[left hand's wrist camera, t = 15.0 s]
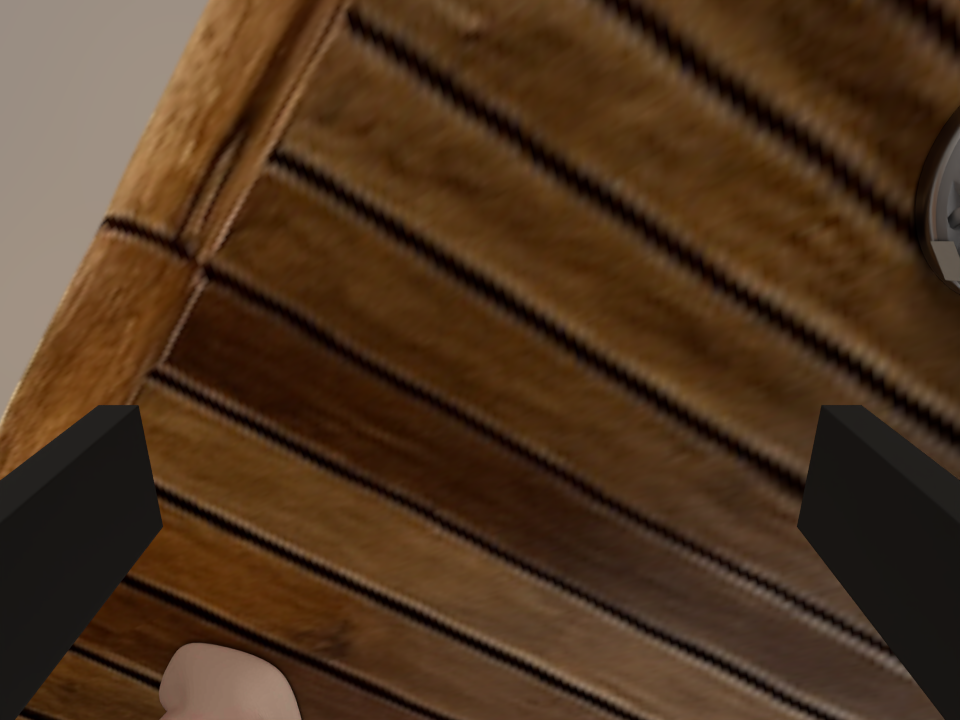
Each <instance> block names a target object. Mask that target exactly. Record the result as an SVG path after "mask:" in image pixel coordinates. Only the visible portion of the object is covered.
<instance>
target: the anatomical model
mask: <svg viewBox="0 0 960 720" xmlns="http://www.w3.org/2000/svg"><path fill="white" fill-rule="evenodd" d="M159 698H160V702H161V704H162V706H163V707H164V709H165V710H166V711H167V712H166V713H165V715H164V716H163V717H162V718H161V719H160V720H301V716H300V712H299V709H298V705H297V702H296V699H295V697H294V694H293V691H292V689H291V687H290V685H289V683H288V681H287V680H286V678H285V677H284V675H283V674H282V673H281V672H280V671H279V670H278V669H277V668H276V667H274V666H273V665H271V664H270V663H268V662H267V661H265V660H263V659H261V658H258V657H256V656H254V655H251V654H248V653H245V652H242V651H239V650H235V649H231V648H227V647H223V646H218V645H213V644H206V643H191V644H187V645H184V646H182V647H181V648H180V649H179V650H178V651H177V652H176V653H175V655H174V656H173V657H172V659H171V661H170V663H169V665H168V667H167V669H166V671H165V673H164V675H163V678H162V682H161V685H160V690H159Z"/></svg>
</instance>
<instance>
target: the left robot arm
mask: <svg viewBox="0 0 960 720" xmlns="http://www.w3.org/2000/svg"><path fill="white" fill-rule="evenodd" d="M915 221H916V230H917V235H918V240H919V243H920V247H921V250H922V252H923V254H924V257H925V259H926V261H927V262H928V264H929V266H930V267H931V269H932V270H933V272H934V273H935V274H936V275H937V277H938V278H939V279H940V280H941V281H942V282H943V283H944V284H945V285H947V286H948V287H949V288H951V289H952V290H953V291H955V292H956V293H958V294H960V106H959V107H958V109H957V110H956V111H955V112H954V113H953V114H952V116H951V117H950V119H949V120H948V121H947V123H946V124H945V125H944V127H943V128H942V130H941V132H940V133H939V135H938V137H937V138H936V140H935V142H934V144H933V146H932V148H931V150H930V152H929V154H928V157H927V159H926V161H925V164H924V167H923V170H922V173H921V176H920V180H919V184H918V189H917V195H916V204H915ZM162 527H163V524H162V519H161V514H160V509H159V504H158V500H157V495H156V490H155V485H154V480H153V475H152V470H151V465H150V460H149V455H148V450H147V445H146V440H145V435H144V430H143V425H142V420H141V415H140V411H139V406H138V405H98V406H97V407H96V408H94V409H93V410H92V411H90V412H89V413H88V414H87V415H85V416H84V417H83V418H81V419H80V420H79V421H77V422H76V423H75V424H73V425H72V426H71V427H70V428H68V429H67V430H66V431H64V432H63V433H62V434H60V435H59V436H58V437H56V438H55V439H54V440H53V441H51V442H50V443H49V444H47V445H46V446H45V447H43V448H42V449H41V450H39V451H38V452H37V453H36V454H34V455H33V456H32V457H30V458H29V459H28V460H26V461H25V462H24V463H23V464H21V465H20V466H19V467H17V468H16V469H15V470H13V471H12V472H11V473H9V474H8V475H7V476H6V477H4V478H3V479H2V480H0V720H15V719H16V718H17V716H18V715H19V714H20V712H21V711H22V710H23V708H24V707H25V706H26V705H27V703H28V702H29V701H30V699H31V698H32V697H33V695H34V694H35V693H36V692H37V690H38V689H39V688H40V686H41V685H42V684H43V682H44V681H45V680H46V678H47V677H48V676H49V675H50V673H51V672H52V671H53V669H54V668H55V667H56V665H57V664H58V663H59V662H60V660H61V659H62V658H63V656H64V655H65V654H66V652H67V651H68V650H69V649H70V647H71V646H72V645H73V643H74V642H75V641H76V639H77V638H78V637H79V635H80V634H81V633H82V632H83V630H84V629H85V628H86V626H87V625H88V624H89V622H90V621H91V620H92V619H93V617H94V616H95V615H96V613H97V612H98V611H99V609H100V608H101V607H102V605H103V604H104V603H105V602H106V600H107V599H108V598H109V596H110V595H111V594H112V592H113V591H114V590H115V589H116V587H117V586H118V585H119V583H120V582H121V581H122V579H123V578H124V577H125V575H126V574H127V573H128V572H129V570H130V569H131V568H132V566H133V565H134V564H135V562H136V561H137V560H138V559H139V557H140V556H141V555H142V553H143V552H144V551H145V549H146V548H147V547H148V546H149V544H150V543H151V542H152V540H153V539H154V538H155V536H156V535H157V534H158V532H159V531H160V530H161V529H162ZM797 527H798V529H799V530H800V531H801V532H802V534H803V535H804V536H805V538H806V539H807V540H808V542H809V543H810V544H811V546H812V547H813V548H814V549H815V551H816V552H817V553H818V555H819V556H820V557H821V559H822V560H823V561H824V562H825V564H826V565H827V566H828V568H829V569H830V570H831V572H832V573H833V574H834V575H835V577H836V578H837V579H838V581H839V582H840V583H841V585H842V586H843V587H844V589H845V590H846V591H847V592H848V594H849V595H850V596H851V598H852V599H853V600H854V602H855V603H856V604H857V605H858V607H859V608H860V609H861V611H862V612H863V613H864V615H865V616H866V617H867V619H868V620H869V621H870V622H871V624H872V625H873V626H874V628H875V629H876V630H877V632H878V633H879V634H880V635H881V637H882V638H883V639H884V641H885V642H886V643H887V645H888V646H889V647H890V649H891V650H892V651H893V652H894V654H895V655H896V656H897V658H898V659H899V660H900V662H901V663H902V664H903V665H904V667H905V668H906V669H907V671H908V672H909V673H910V675H911V676H912V677H913V678H914V680H915V681H916V682H917V684H918V685H919V686H920V688H921V689H922V690H923V692H924V693H925V694H926V695H927V697H928V698H929V699H930V701H931V702H932V703H933V705H934V706H935V707H936V708H937V710H938V711H939V712H940V714H941V715H942V716H943V718H944V719H945V720H960V480H958V479H957V478H956V477H954V476H953V475H952V474H951V473H949V472H948V471H947V470H945V469H944V468H943V467H941V466H940V465H939V464H937V463H936V462H935V461H934V460H932V459H931V458H930V457H928V456H927V455H926V454H924V453H923V452H922V451H921V450H919V449H918V448H917V447H915V446H914V445H913V444H911V443H910V442H909V441H907V440H906V439H905V438H904V437H902V436H901V435H900V434H898V433H897V432H896V431H894V430H893V429H892V428H890V427H889V426H888V425H887V424H885V423H884V422H883V421H881V420H880V419H879V418H877V417H876V416H875V415H873V414H872V413H871V412H870V411H868V410H867V409H866V408H864V407H863V406H862V405H822V406H821V411H820V415H819V420H818V425H817V430H816V435H815V440H814V445H813V450H812V455H811V460H810V465H809V470H808V475H807V480H806V485H805V490H804V495H803V500H802V504H801V509H800V514H799V519H798V524H797Z"/></svg>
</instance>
